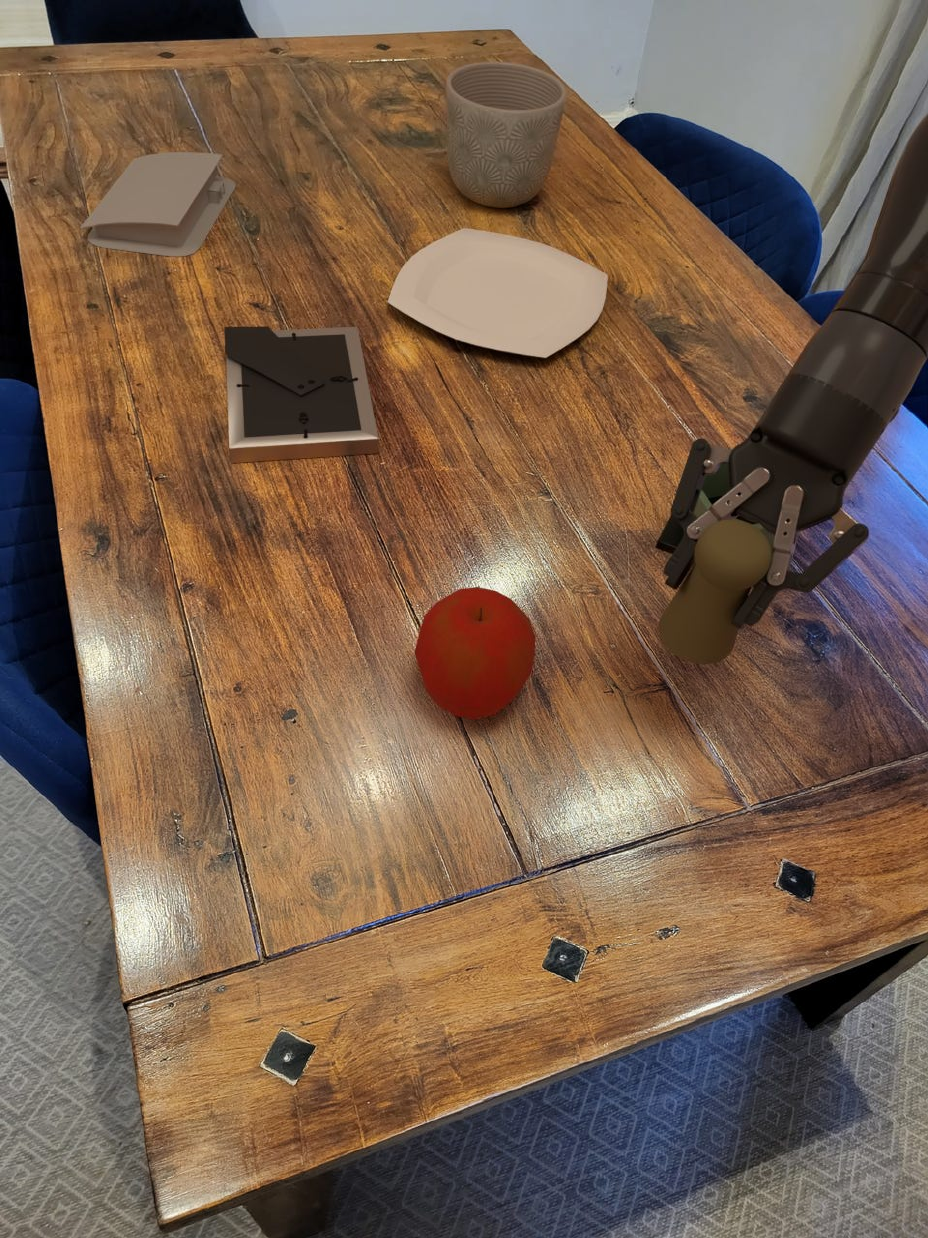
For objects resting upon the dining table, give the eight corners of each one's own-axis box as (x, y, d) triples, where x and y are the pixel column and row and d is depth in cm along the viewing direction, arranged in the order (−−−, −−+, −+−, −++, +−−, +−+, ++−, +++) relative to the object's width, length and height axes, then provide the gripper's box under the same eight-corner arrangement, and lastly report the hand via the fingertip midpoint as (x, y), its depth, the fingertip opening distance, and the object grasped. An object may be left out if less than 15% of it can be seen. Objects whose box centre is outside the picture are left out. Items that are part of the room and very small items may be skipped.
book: (240, 179, 131) (236, 152, 128) (192, 259, 117) (187, 231, 114) (139, 166, 131) (133, 138, 128) (80, 244, 117) (71, 216, 114)
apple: (517, 747, 75) (536, 670, 65) (402, 724, 75) (404, 645, 66) (532, 653, 81) (551, 570, 72) (425, 632, 81) (431, 548, 72)
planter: (417, 186, 134) (421, 76, 122) (497, 157, 141) (507, 51, 130) (494, 233, 127) (506, 122, 115) (573, 200, 134) (592, 93, 123)
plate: (454, 227, 127) (455, 214, 125) (628, 284, 121) (631, 270, 119) (360, 317, 111) (359, 304, 110) (554, 387, 105) (557, 374, 104)
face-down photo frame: (227, 347, 106) (231, 463, 93) (224, 326, 103) (227, 442, 91) (358, 341, 108) (378, 453, 96) (357, 320, 106) (378, 433, 94)
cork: (681, 673, 66) (724, 579, 57) (644, 612, 70) (680, 515, 61) (749, 653, 68) (802, 559, 59) (710, 595, 71) (754, 498, 62)
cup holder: (795, 518, 94) (817, 477, 90) (768, 592, 88) (789, 552, 83) (690, 478, 97) (706, 436, 92) (655, 547, 90) (670, 505, 86)
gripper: (740, 336, 59) (608, 552, 63) (944, 433, 54) (788, 662, 58) (751, 367, 66) (632, 560, 70) (933, 455, 61) (794, 659, 65)
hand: (703, 605), depth 64 cm, fingers closed on cork, 5 cm apart
